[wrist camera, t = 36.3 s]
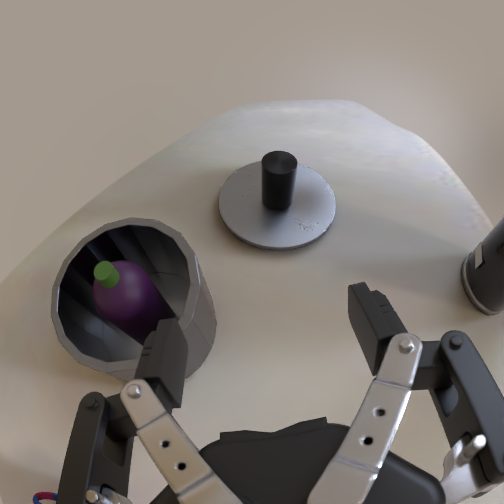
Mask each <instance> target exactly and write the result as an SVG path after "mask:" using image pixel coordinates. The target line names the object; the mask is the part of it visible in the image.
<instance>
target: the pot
mask: <svg viewBox="0 0 504 504" xmlns="http://www.w3.org/2000/svg"><path fill="white" fill-rule="evenodd" d="M102 261H108V262H110V263H112V262H115V261H129V262H132V263H135V264H137V265H138V266H140V267H141V268H142V269H143V270H144V271H145V272H146V273H147V274H148V276H149V277H150V279H151V280H152V282H153V283H154V285H155V286H156V288H157V289H158V290H159V292H160V293H161V295H162V296H163V297H164V299H165V300H166V302H167V303H168V304H169V306H170V307H171V308H172V310H173V311H174V313H175V316H176V319H177V321H178V323H179V325H180V327H181V329H182V332H183V334H184V336H185V338H186V340H187V343H188V349H189V352H188V359H187V366H186V373H185V379H186V378H187V377H188V376H190V375H191V374H193V373H194V372H195V371H196V370H197V369H198V368H199V367H200V366H201V364H202V363H203V362H204V361H205V359H206V357H207V356H208V354H209V352H210V350H211V348H212V345H213V342H214V338H215V333H216V325H217V321H216V316H215V310H214V306H213V301H212V298H211V295H210V292H209V290H208V287H207V284H206V282H205V279H204V276H203V274H202V271H201V268H200V265H199V262H198V260H197V257H196V254H195V253H194V251H193V250H192V249H191V247H190V246H189V244H188V243H187V241H186V240H185V239H184V237H183V236H182V234H181V233H180V232H178V231H176V230H175V229H173V228H171V227H169V226H167V225H165V224H164V223H162V222H160V221H158V220H153V219H142V218H127V219H123V220H119V221H116V222H112V223H108V224H105V225H103V226H102V227H100V228H99V229H97V230H95V231H94V232H92V233H91V234H89V235H88V236H86V237H85V238H83V239H82V240H81V241H80V242H79V243H78V244H77V246H76V247H75V248H74V249H73V250H72V251H71V253H70V254H69V255H68V256H67V257H66V259H65V260H64V261H63V264H62V266H61V268H60V270H59V273H58V275H57V278H56V280H55V282H54V285H53V290H52V303H51V317H52V320H53V324H54V327H55V330H56V333H57V336H58V339H59V342H60V343H61V344H62V345H63V346H64V348H65V349H66V350H67V351H68V352H69V353H70V354H71V355H72V356H73V358H74V359H75V360H76V361H77V362H78V363H81V364H83V365H85V366H88V367H90V368H92V369H95V370H97V371H100V372H102V373H105V374H107V375H110V376H113V377H115V378H118V379H121V380H123V381H126V382H129V381H131V380H133V379H134V376H135V372H136V369H137V366H138V362H139V359H140V356H141V352H142V349H143V345H141V344H140V343H138V342H137V341H135V340H134V339H133V338H131V337H130V336H128V335H127V334H126V333H124V332H123V331H122V330H120V329H119V328H118V327H116V326H115V325H114V324H113V323H111V322H110V321H109V320H107V319H106V318H105V317H104V316H103V315H102V314H101V313H100V312H99V311H98V309H97V307H96V305H95V303H94V300H93V293H92V289H93V283H94V280H95V277H94V269H95V267H96V265H97V264H98V263H100V262H102Z"/></svg>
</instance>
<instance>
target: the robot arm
mask: <svg viewBox="0 0 504 504" xmlns="http://www.w3.org/2000/svg"><path fill="white" fill-rule="evenodd" d="M462 281H463V285H464V288H465V291H466V293H467V295H468V297H469V299H470V300H471V302H472V303H473V304H474V305H475V306H476V307H477V308H478V309H479V310H480V311H482V312H484V313H486V314H489V315H495V314H498V313H500V312H501V311H503V310H504V216H503V217H502V219H501V220H500V221H499V222H498V224H497V225H496V226H495V227H494V228H493V230H492V231H491V232H490V233H489V234H488V235H487V237H486V238H485V239H484V240H483V241H482V242H481V243H480V244H479V245H478V246H477V247H476V248H475V250H474V251H473V252H471V253H470V254H469V255H468V256H467V257H466V259H465V260H464V262H463V265H462ZM348 314H349V320H350V323H351V325H352V328H353V330H354V332H355V335H356V337H357V339H358V342H359V344H360V346H361V349H362V351H363V353H364V356H365V358H366V361H367V363H368V365H369V368H370V370H371V373H372V375H373V376H376V375H377V376H376V378H375V379H373V381H372V383H371V385H370V387H369V389H368V391H367V394H366V396H365V398H364V400H363V402H362V404H361V407H360V409H359V411H358V413H357V415H356V417H355V419H354V421H353V423H352V425H351V427H349V426H346V425H341V424H335V423H327V419H326V417H322V418H318V419H313V420H308V421H303V422H299V423H296V424H294V425H292V426H289V427H287V428H284V429H282V430H279V431H276V432H272V433H270V432H258V431H248V430H243V431H233V432H221V433H220V440H217V441H215V442H212V443H210V444H208V445H207V446H205V447H204V448H202V449H201V450H199V449H198V448H197V447H196V446H195V444H194V443H193V442H192V441H191V439H190V438H189V437H188V436H187V434H186V433H185V432H184V431H183V429H182V428H181V427H180V425H179V424H178V423H177V421H176V420H175V419H174V417H173V416H172V415H171V414H172V408H181V402H182V394H183V387H184V380H185V373H186V366H187V359H188V352H189V349H188V343H187V340H186V338H185V336H184V334H183V332H182V329H181V327H180V325H179V323H178V321H177V319H176V318H169V319H162V320H159V322H158V325H157V329H156V331H152V332H151V333H150V334H149V335H148V337H147V338H146V339H145V342H144V346H143V349H142V352H141V356H140V359H139V362H138V366H137V369H136V372H135V376H134V379H133V380H131V381H129V382H128V383H126V384H125V385H124V386H123V388H122V389H121V392H120V393H119V394H116V395H113V396H110V397H107V398H105V397H104V396H103V395H102V394H101V393H99V392H91V393H89V394H87V395H86V396H84V397H83V399H82V400H81V402H80V404H79V408H78V411H77V414H76V418H75V421H74V425H73V429H72V432H71V436H70V440H69V444H68V448H67V452H66V456H65V460H64V465H63V469H62V474H61V479H60V484H59V489H58V495H57V500H56V504H132V502H131V501H130V500H129V499H128V498H127V494H128V483H129V474H130V465H131V456H132V448H133V441H134V436H137V435H138V437H139V439H140V440H141V442H142V444H143V446H144V447H145V449H146V450H147V452H148V454H149V455H150V457H151V459H152V460H153V462H154V463H155V465H156V466H157V468H158V469H159V471H160V472H161V474H162V475H163V477H164V478H165V480H166V481H167V483H168V485H167V486H166V487H165V488H164V489H163V490H162V491H161V492H160V494H159V495H158V496H157V497H156V498H155V499H154V500H153V501H152V502H151V503H150V504H458V503H460V502H462V501H464V500H466V499H468V498H470V497H472V498H477V497H480V496H482V495H484V494H486V493H487V492H489V491H490V490H492V489H494V488H495V487H497V486H498V485H500V484H501V483H503V482H504V397H503V395H502V394H501V392H500V390H499V388H498V386H497V384H496V382H495V380H494V379H493V377H492V375H491V373H490V371H489V370H488V368H487V366H486V365H485V363H484V361H483V359H482V358H481V356H480V354H479V353H478V351H477V349H476V348H475V346H474V345H473V343H472V341H471V340H470V338H469V337H468V336H467V335H466V334H465V333H463V332H461V331H456V330H453V331H449V332H447V333H445V334H444V335H443V336H442V338H441V341H421V340H420V339H419V338H418V337H417V336H416V335H414V334H411V333H408V331H407V330H406V328H405V327H404V325H403V323H402V322H401V320H400V318H399V317H398V315H397V313H396V312H395V311H394V309H393V307H392V306H391V305H390V302H389V301H388V299H387V298H386V296H385V295H383V294H382V293H380V292H379V291H377V290H375V291H370V290H369V288H368V286H367V285H366V283H365V282H361V283H357V284H353V285H349V286H348ZM426 389H428V390H429V392H430V395H431V397H432V399H433V402H434V404H435V407H436V409H437V412H438V415H439V417H440V420H441V422H442V425H443V428H444V430H445V433H446V436H447V439H448V442H449V445H450V447H451V450H450V451H449V452H448V453H447V454H446V456H445V458H444V462H443V466H444V475H443V478H442V480H441V481H439V480H438V479H437V478H435V477H434V476H433V475H431V474H429V473H427V472H425V471H424V470H422V469H420V468H418V467H416V466H415V465H413V464H411V463H409V462H408V461H406V460H404V459H402V458H401V457H399V456H397V455H396V454H394V453H392V452H391V451H389V448H390V446H391V443H392V441H393V438H394V436H395V433H396V431H397V428H398V426H399V423H400V420H401V418H402V415H403V412H404V409H405V407H406V404H407V401H408V398H409V395H410V392H411V390H426Z"/></svg>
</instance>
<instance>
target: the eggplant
mask: <svg viewBox="0 0 504 504" xmlns="http://www.w3.org/2000/svg"><path fill="white" fill-rule="evenodd" d="M94 277H95V280H94V283H93V289H92V293H93V300H94V303H95V305H96V307H97V309H98V311H99V312H100V313H101V314H102V315H103V316H104V317H105V318H106V319H107V320H109V321H110V322H111V323H113V324H114V325H115V326H116V327H118V328H119V329H120V330H122V331H123V332H124V333H126V334H127V335H128V336H130V337H131V338H133V339H134V340H135V341H137V342H138V343H140V344H141V345H143V346H144V342H145V339H146V338H147V337H148V335H149V334H150V333H151V332H152V331H156V329H157V325H158V322H159V320H162V319H169V318H176V316H175V313H174V311H173V310H172V308H171V307H170V306H169V304H168V303H167V302H166V300H165V299H164V297H163V296H162V295H161V293H160V292H159V290H158V289H157V288H156V286H155V285H154V283H153V282H152V280H151V279H150V277H149V276H148V274H147V273H146V272H145V271H144V270H143V269H142V268H141V267H140V266H138V265H137V264H135V263H132V262H129V261H115V262H112V263H110V262H108V261H102V262H100V263H98V264H97V265H96V267H95V269H94Z"/></svg>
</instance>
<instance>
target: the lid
mask: <svg viewBox="0 0 504 504" xmlns="http://www.w3.org/2000/svg"><path fill="white" fill-rule="evenodd" d="M335 209H336V203H335V198H334V194H333V192H332V190H331V188H330V186H329V185H328V183H327V182H326V181H325V180H324V179H323V178H322V177H321V176H320V175H319V174H318V173H316V172H315V171H313V170H312V169H310V168H308V167H306V166H304V165H301V164H298V162H297V159H296V158H295V157H294V156H293V155H292V154H290V153H288V152H284V151H273V152H270V153H267V154H266V155H265V156H264V157H263V158H262V161H259V162H255V163H252V164H249V165H247V166H244V167H242V168H241V169H239V170H237V171H236V172H235V173H233V174H232V175H231V176H230V177H229V178H228V179H227V180H226V182H225V183H224V185H223V187H222V189H221V191H220V195H219V211H220V214H221V218H222V220H223V222H224V223H225V225H226V226H227V228H228V229H229V230H230V231H231V232H232V233H233V234H234V235H235V236H237V237H238V238H239V239H241V240H243V241H244V242H246V243H248V244H251V245H253V246H256V247H260V248H264V249H269V250H289V249H296V248H299V247H303V246H305V245H308V244H310V243H312V242H314V241H315V240H317V239H318V238H320V237H321V236H322V235H323V234H324V233H325V232H326V231H327V230H328V228H329V227H330V225H331V223H332V221H333V218H334V215H335Z"/></svg>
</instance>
